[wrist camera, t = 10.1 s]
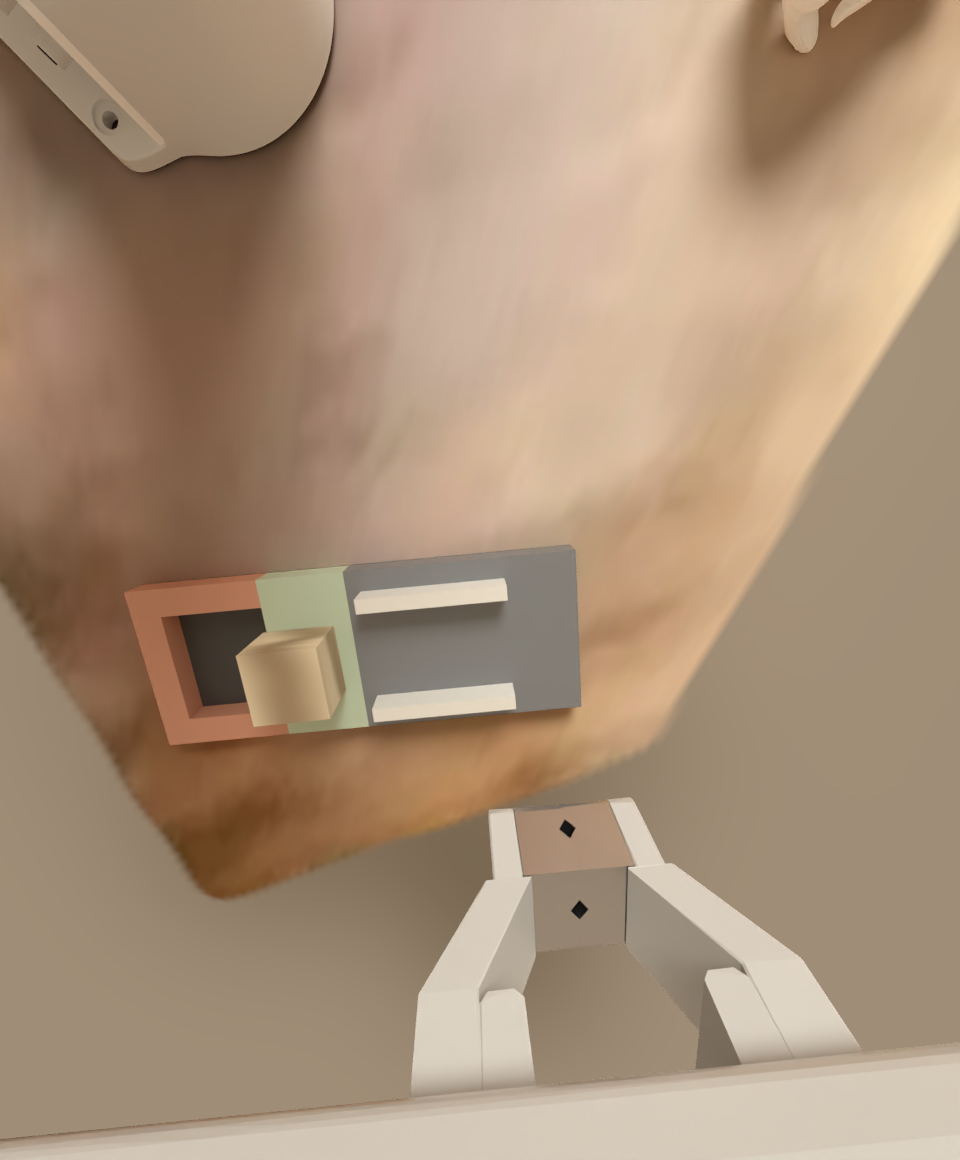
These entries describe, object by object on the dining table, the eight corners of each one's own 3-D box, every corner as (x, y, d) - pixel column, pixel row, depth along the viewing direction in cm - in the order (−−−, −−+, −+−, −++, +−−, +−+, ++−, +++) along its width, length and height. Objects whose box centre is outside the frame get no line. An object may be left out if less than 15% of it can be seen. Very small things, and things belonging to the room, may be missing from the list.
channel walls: (504, 578, 32) (506, 585, 30) (513, 694, 34) (516, 709, 32) (360, 591, 32) (353, 600, 30) (379, 707, 34) (374, 722, 32)
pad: (349, 565, 34) (342, 571, 32) (374, 712, 37) (368, 726, 35) (267, 573, 34) (255, 580, 32) (298, 719, 37) (289, 734, 35)
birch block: (333, 625, 33) (315, 647, 29) (346, 689, 34) (330, 719, 30) (263, 632, 33) (235, 656, 29) (278, 696, 34) (253, 727, 30)
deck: (569, 544, 34) (575, 550, 32) (575, 693, 37) (581, 706, 35) (143, 584, 34) (123, 592, 32) (185, 729, 37) (169, 745, 35)
